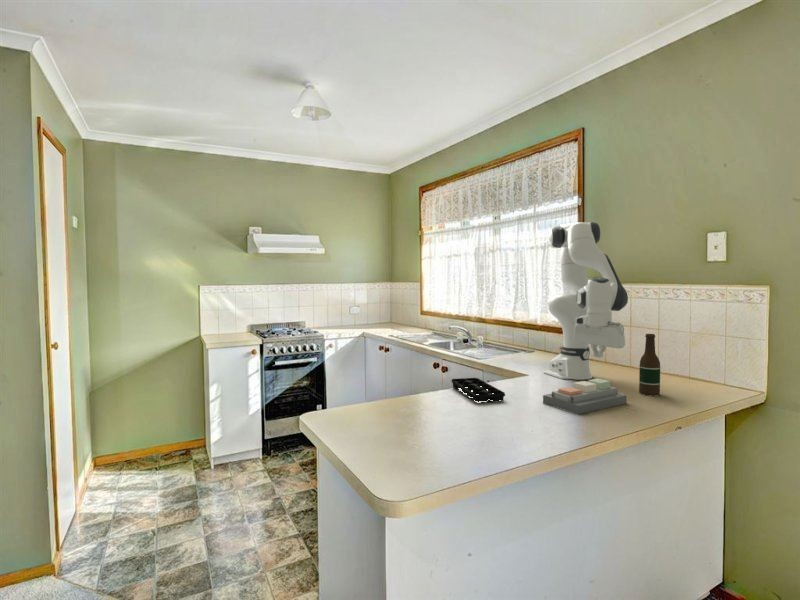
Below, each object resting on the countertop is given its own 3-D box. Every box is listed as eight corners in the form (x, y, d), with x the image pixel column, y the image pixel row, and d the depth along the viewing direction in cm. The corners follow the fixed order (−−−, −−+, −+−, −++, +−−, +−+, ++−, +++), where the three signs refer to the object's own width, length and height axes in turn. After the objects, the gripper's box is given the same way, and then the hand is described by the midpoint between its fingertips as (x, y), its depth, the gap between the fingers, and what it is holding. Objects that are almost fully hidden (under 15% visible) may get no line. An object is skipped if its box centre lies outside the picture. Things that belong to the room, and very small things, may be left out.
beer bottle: (655, 391, 184) (656, 332, 182) (664, 396, 176) (665, 335, 175) (635, 391, 184) (635, 332, 183) (643, 396, 177) (644, 335, 175)
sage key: (587, 387, 173) (587, 380, 172) (597, 386, 175) (597, 378, 175) (600, 391, 168) (600, 383, 168) (610, 389, 170) (610, 381, 170)
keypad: (543, 403, 169) (543, 389, 168) (590, 393, 181) (590, 381, 181) (578, 414, 155) (578, 399, 154) (626, 403, 167) (626, 390, 167)
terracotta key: (558, 396, 165) (558, 388, 165) (568, 394, 168) (568, 386, 168) (570, 400, 160) (570, 392, 160) (581, 398, 163) (581, 390, 163)
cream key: (573, 390, 169) (573, 382, 169) (583, 388, 171) (583, 380, 171) (585, 393, 164) (585, 385, 164) (596, 391, 167) (596, 383, 166)
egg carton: (473, 384, 201) (473, 376, 201) (517, 400, 174) (517, 391, 174) (439, 389, 194) (439, 380, 194) (480, 406, 167) (480, 396, 166)
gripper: (629, 322, 162) (628, 360, 163) (582, 317, 180) (581, 352, 181) (617, 323, 159) (617, 362, 160) (571, 318, 177) (570, 353, 178)
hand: (598, 356), depth 171 cm, fingers closed
